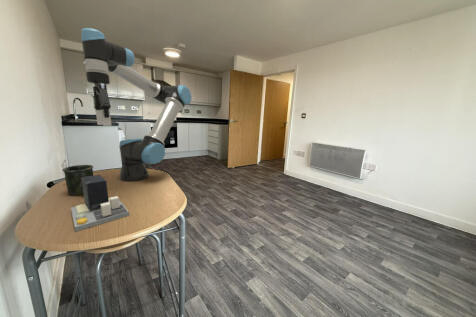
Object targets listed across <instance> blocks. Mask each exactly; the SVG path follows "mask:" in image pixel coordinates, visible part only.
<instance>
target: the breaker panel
mask: <svg viewBox="0 0 476 317" xmlns="http://www.w3.org/2000/svg"><path fill="white" fill-rule="evenodd" d="M110 198H111V197H108V200H109V203H110ZM119 206H120V207H119V208H115V209H112V208H111V215H107V216H104V217H103V215H102V212H101V208H98V209H94V210H91V211H89V209H88V207H87V206H86V204H85V203H83V204H82V203H81V204H78V205H76V206H73V207H72V206H71V207H70V210H71V216H72V221H73V226H74V230H75V232H79V231H82V230H85V229H88V228H89V229H90V228H93V227H95V226H98V225H99V226H100V225H102V224H105V223H109V222H113V221H115V220H118V219H121V218H122V219H123V218H126V217H129V216H130V212H129V210H128V209H127V207H126V206H125V205H124V203H123V202H122V201H121V200H120V199H119ZM110 207H111V205H110Z"/></svg>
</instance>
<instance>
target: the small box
mask: <svg viewBox="0 0 476 317" xmlns="http://www.w3.org/2000/svg"><path fill="white" fill-rule="evenodd" d="M81 180H82V186H83V194H84V195H83V201H84V204H86V206H87V207H88V209H89V211H91V210H94V209H98V208H101V205H100V204H103V203H107V202H109V200H108V198H109V193H108V183H107V182H108V181H107V180H106V179H105V178H104V177H103V176H102V175H101V174H95V175H94V174H93V176H87V177H81Z"/></svg>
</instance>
